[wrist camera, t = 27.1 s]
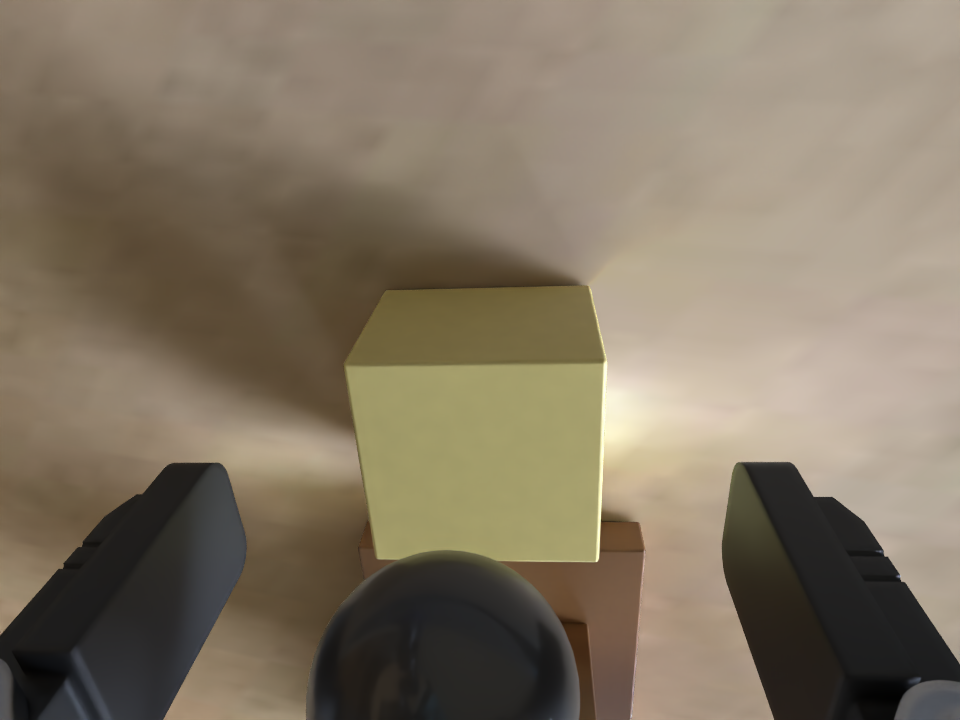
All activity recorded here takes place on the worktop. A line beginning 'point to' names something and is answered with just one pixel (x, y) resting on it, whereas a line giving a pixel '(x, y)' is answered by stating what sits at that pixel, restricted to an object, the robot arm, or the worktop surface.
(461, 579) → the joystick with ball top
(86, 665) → the robot arm
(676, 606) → the worktop surface
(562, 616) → the wooden stand
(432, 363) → the butter
